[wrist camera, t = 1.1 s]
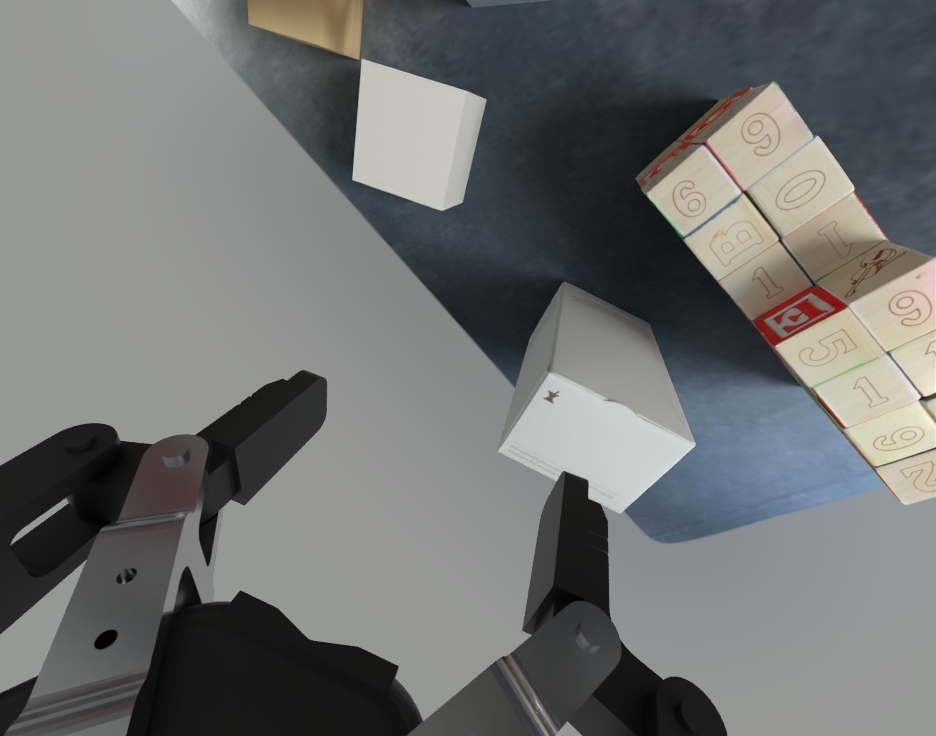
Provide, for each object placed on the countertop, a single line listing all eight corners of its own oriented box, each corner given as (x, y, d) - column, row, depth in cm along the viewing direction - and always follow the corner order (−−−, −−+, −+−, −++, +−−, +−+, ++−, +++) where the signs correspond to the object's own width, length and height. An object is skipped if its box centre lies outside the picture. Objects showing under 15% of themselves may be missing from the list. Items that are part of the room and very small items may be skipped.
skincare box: (528, 337, 35) (486, 451, 22) (566, 274, 31) (542, 364, 18) (611, 381, 34) (617, 521, 22) (658, 322, 31) (701, 448, 18)
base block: (397, 72, 28) (361, 58, 24) (487, 99, 27) (466, 91, 23) (384, 175, 32) (352, 179, 27) (463, 202, 31) (441, 211, 27)
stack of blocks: (630, 179, 27) (649, 199, 17) (720, 97, 23) (813, 59, 13) (802, 387, 30) (906, 511, 20) (902, 342, 27) (1087, 462, 17)
